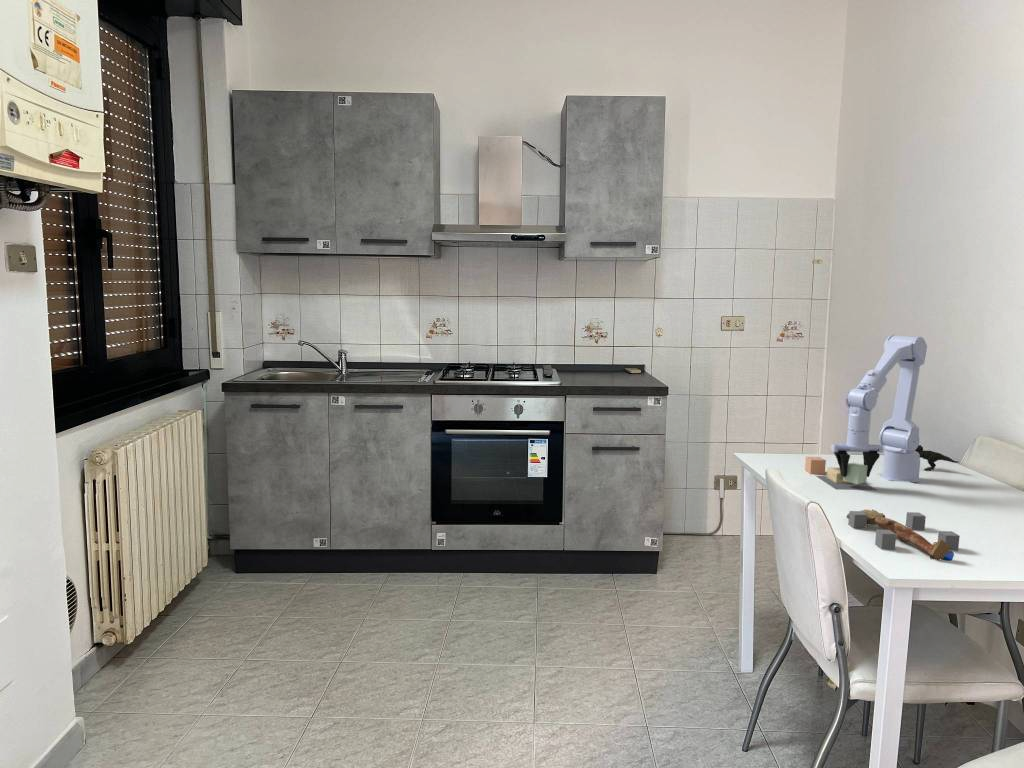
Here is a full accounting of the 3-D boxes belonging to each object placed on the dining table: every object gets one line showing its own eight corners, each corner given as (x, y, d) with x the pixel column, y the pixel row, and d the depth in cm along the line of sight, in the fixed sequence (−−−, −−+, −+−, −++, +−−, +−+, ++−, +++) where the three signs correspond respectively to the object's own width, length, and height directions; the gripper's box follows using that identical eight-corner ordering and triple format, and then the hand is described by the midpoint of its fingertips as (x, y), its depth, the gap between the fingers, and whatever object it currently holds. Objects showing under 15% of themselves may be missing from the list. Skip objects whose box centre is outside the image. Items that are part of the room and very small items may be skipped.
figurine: (937, 536, 157) (849, 490, 186) (920, 559, 157) (835, 510, 186) (960, 553, 159) (870, 505, 188) (943, 576, 159) (855, 525, 188)
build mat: (854, 478, 227) (854, 476, 227) (877, 491, 212) (877, 490, 212) (815, 477, 227) (815, 475, 227) (835, 490, 213) (835, 489, 212)
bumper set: (917, 526, 181) (919, 512, 181) (958, 550, 164) (959, 535, 164) (848, 524, 181) (849, 510, 181) (881, 549, 165) (882, 533, 164)
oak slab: (849, 477, 226) (850, 467, 226) (859, 483, 219) (860, 473, 219) (826, 476, 226) (827, 467, 226) (836, 482, 219) (836, 473, 219)
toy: (912, 465, 246) (914, 441, 245) (961, 474, 234) (963, 449, 233) (905, 467, 243) (907, 443, 242) (955, 476, 231) (957, 451, 230)
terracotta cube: (819, 472, 234) (820, 456, 233) (824, 475, 230) (825, 460, 229) (804, 471, 234) (805, 456, 233) (810, 475, 230) (811, 459, 229)
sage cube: (866, 482, 214) (867, 465, 214) (857, 484, 212) (858, 467, 211) (852, 478, 218) (853, 462, 217) (842, 480, 216) (844, 463, 215)
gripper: (875, 427, 217) (871, 472, 219) (827, 427, 217) (824, 472, 219) (888, 432, 210) (884, 478, 212) (839, 432, 210) (835, 478, 212)
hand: (854, 476), depth 215 cm, fingers closed on sage cube, 6 cm apart
